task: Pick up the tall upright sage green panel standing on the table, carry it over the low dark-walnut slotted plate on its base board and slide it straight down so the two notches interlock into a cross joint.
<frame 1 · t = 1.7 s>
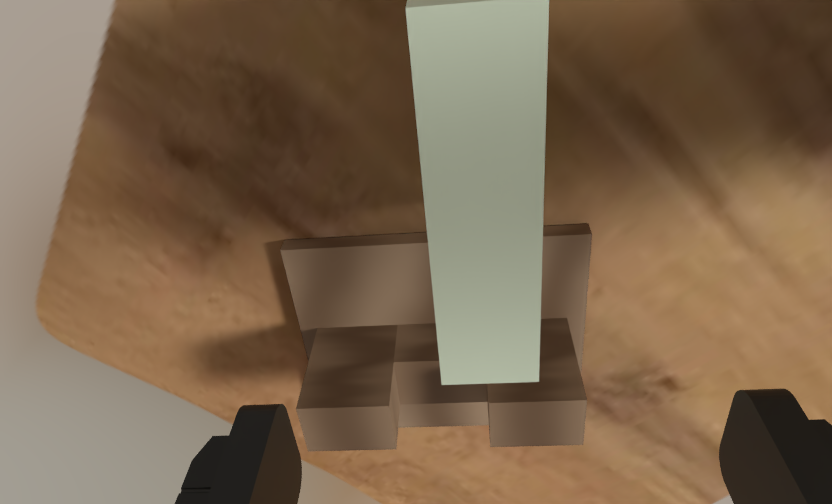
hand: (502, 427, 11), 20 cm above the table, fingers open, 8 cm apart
slot plate: (442, 332, 37), on the table
upright sage green panel: (470, 76, 28), on the table
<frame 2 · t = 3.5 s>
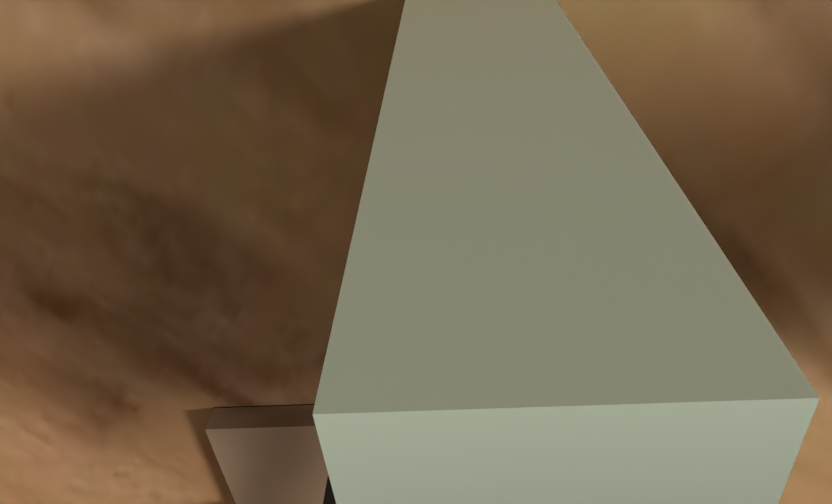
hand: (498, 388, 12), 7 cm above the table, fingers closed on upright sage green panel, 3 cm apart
upright sage green panel: (481, 205, 18), on the table, touching gripper
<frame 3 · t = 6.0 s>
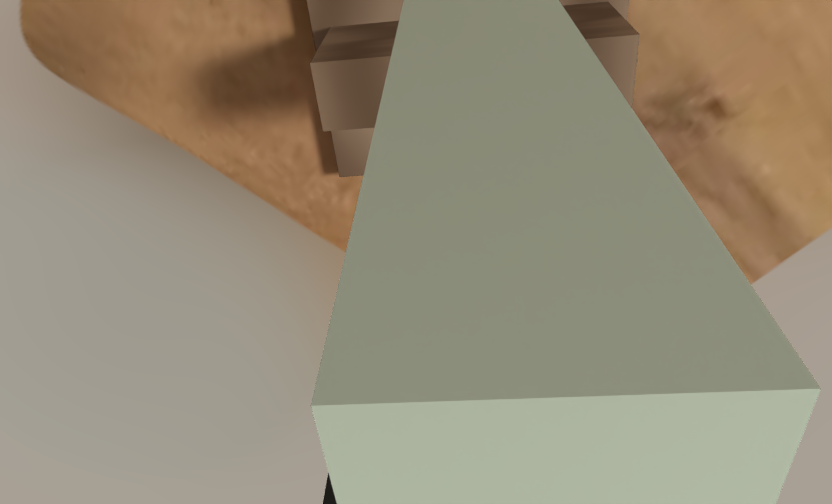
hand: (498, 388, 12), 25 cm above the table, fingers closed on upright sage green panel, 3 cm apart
slot plate: (467, 40, 33), on the table
upright sage green panel: (481, 202, 18), point 18 cm above the table, touching gripper
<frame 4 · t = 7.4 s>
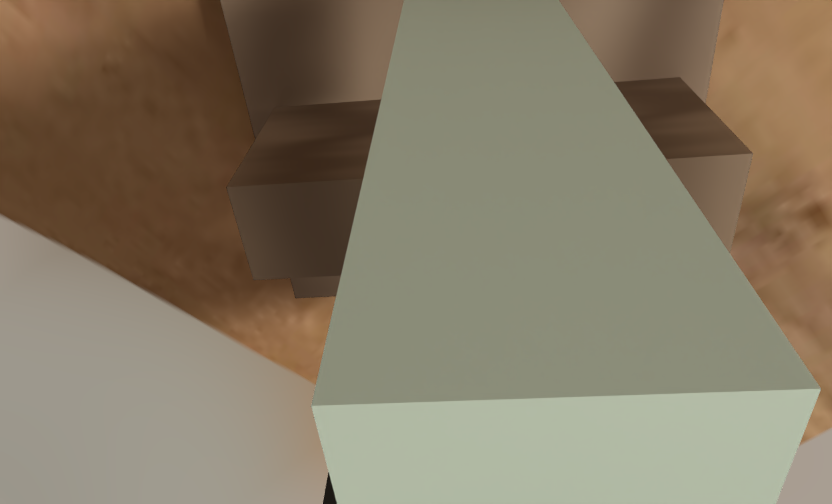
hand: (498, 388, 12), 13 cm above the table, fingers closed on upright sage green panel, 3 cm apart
slot plate: (472, 124, 23), on the table
upright sage green panel: (481, 202, 18), point 6 cm above the table, touching gripper
when the fingers open (9 cm above the table, at t = 8.6 s): upright sage green panel stays where it is, resting on slot plate.
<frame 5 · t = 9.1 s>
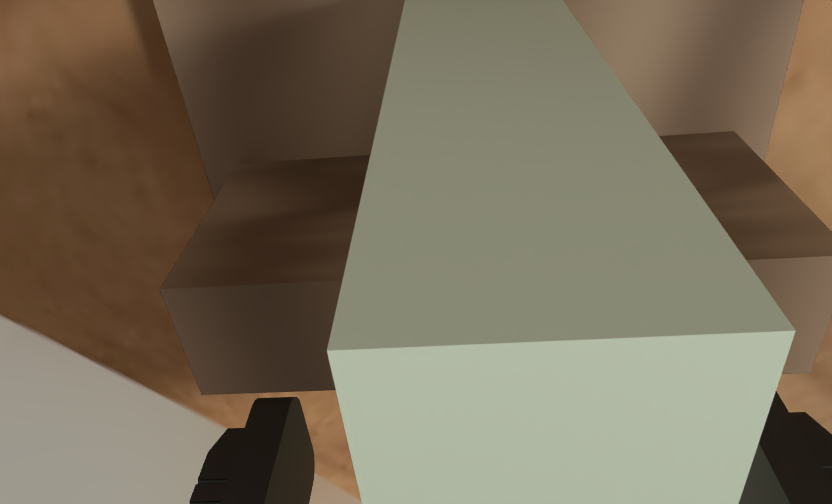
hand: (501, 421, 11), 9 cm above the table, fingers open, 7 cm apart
slot plate: (478, 181, 19), on the table
upright sage green panel: (482, 193, 18), point 1 cm above the table, touching slot plate
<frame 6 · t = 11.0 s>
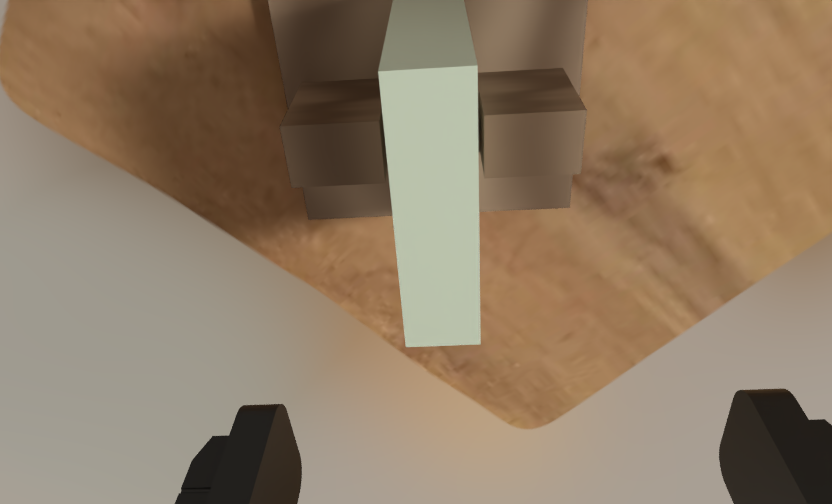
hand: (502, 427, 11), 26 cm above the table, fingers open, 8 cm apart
slot plate: (432, 97, 35), on the table
upright sage green panel: (433, 101, 34), point 1 cm above the table, touching slot plate
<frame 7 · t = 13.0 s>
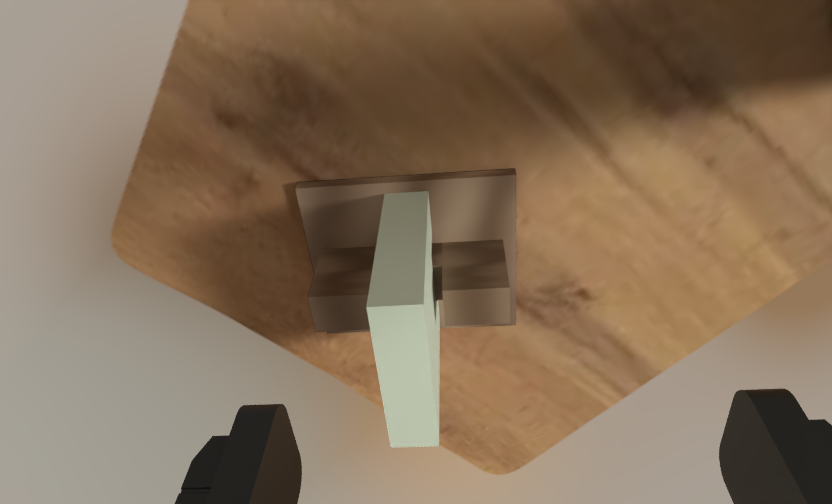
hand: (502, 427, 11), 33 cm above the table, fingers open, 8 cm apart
slot plate: (413, 254, 49), on the table
upright sage green panel: (413, 260, 49), point 1 cm above the table, touching slot plate
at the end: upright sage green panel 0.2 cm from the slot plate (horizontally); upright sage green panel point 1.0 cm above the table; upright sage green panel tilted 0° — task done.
